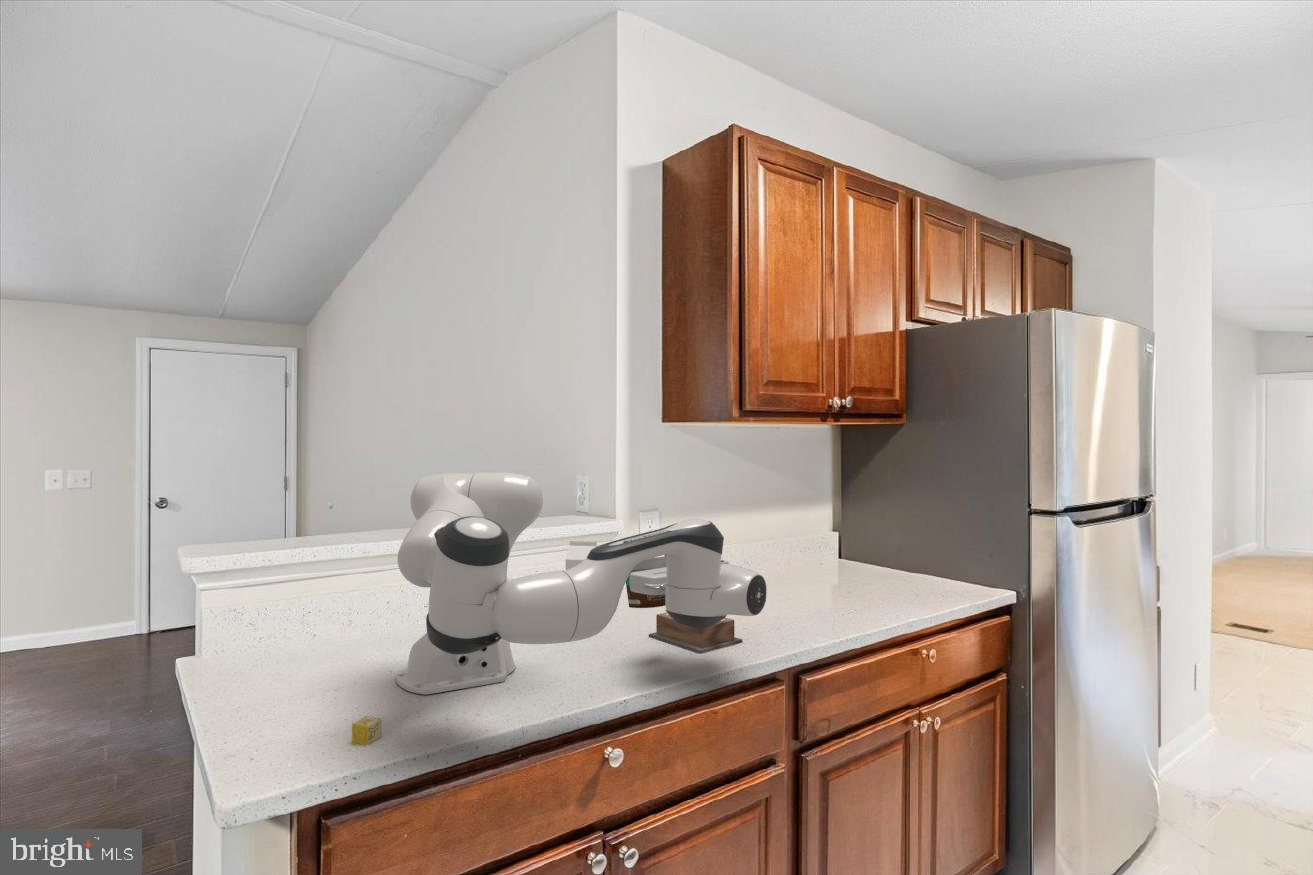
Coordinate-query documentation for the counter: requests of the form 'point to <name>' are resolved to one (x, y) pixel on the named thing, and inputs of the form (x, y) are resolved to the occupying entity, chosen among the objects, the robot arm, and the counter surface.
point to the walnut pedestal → (695, 634)
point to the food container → (643, 599)
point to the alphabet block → (366, 730)
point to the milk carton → (578, 552)
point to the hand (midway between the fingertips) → (651, 572)
